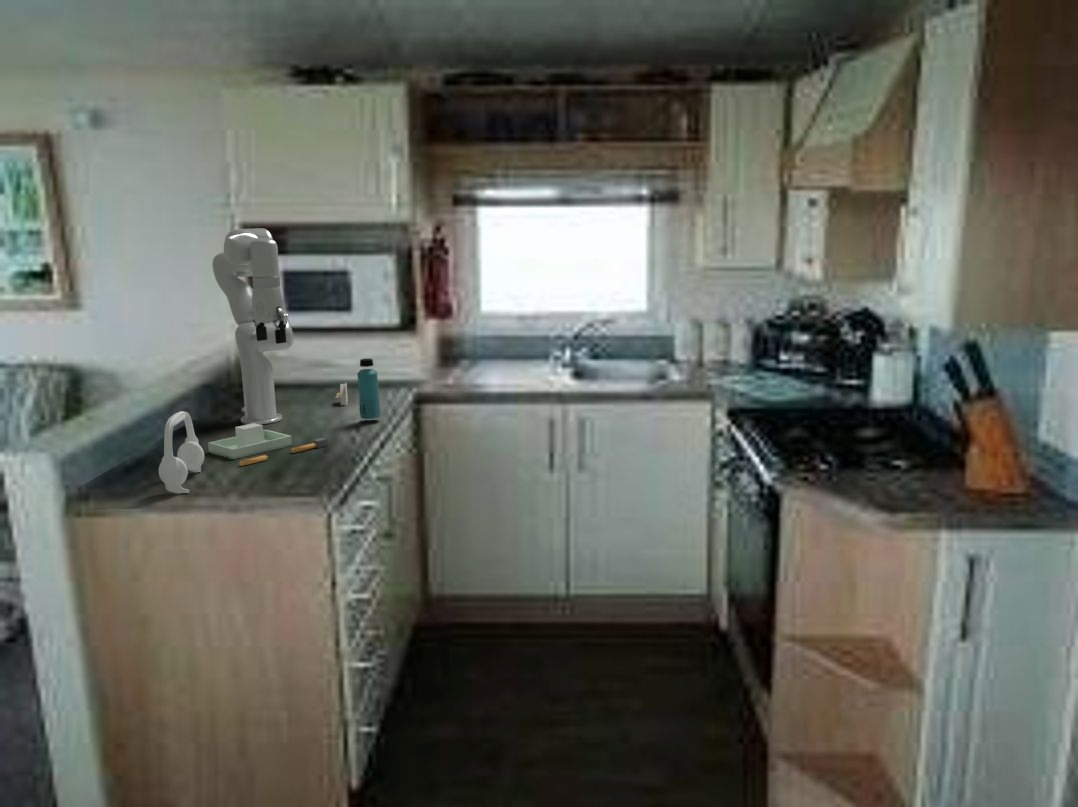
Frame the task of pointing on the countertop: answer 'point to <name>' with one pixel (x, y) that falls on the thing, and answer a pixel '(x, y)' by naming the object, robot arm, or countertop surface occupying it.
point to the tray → (231, 451)
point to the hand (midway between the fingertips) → (271, 341)
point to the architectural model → (343, 394)
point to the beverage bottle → (368, 391)
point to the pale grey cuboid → (249, 434)
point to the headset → (180, 455)
